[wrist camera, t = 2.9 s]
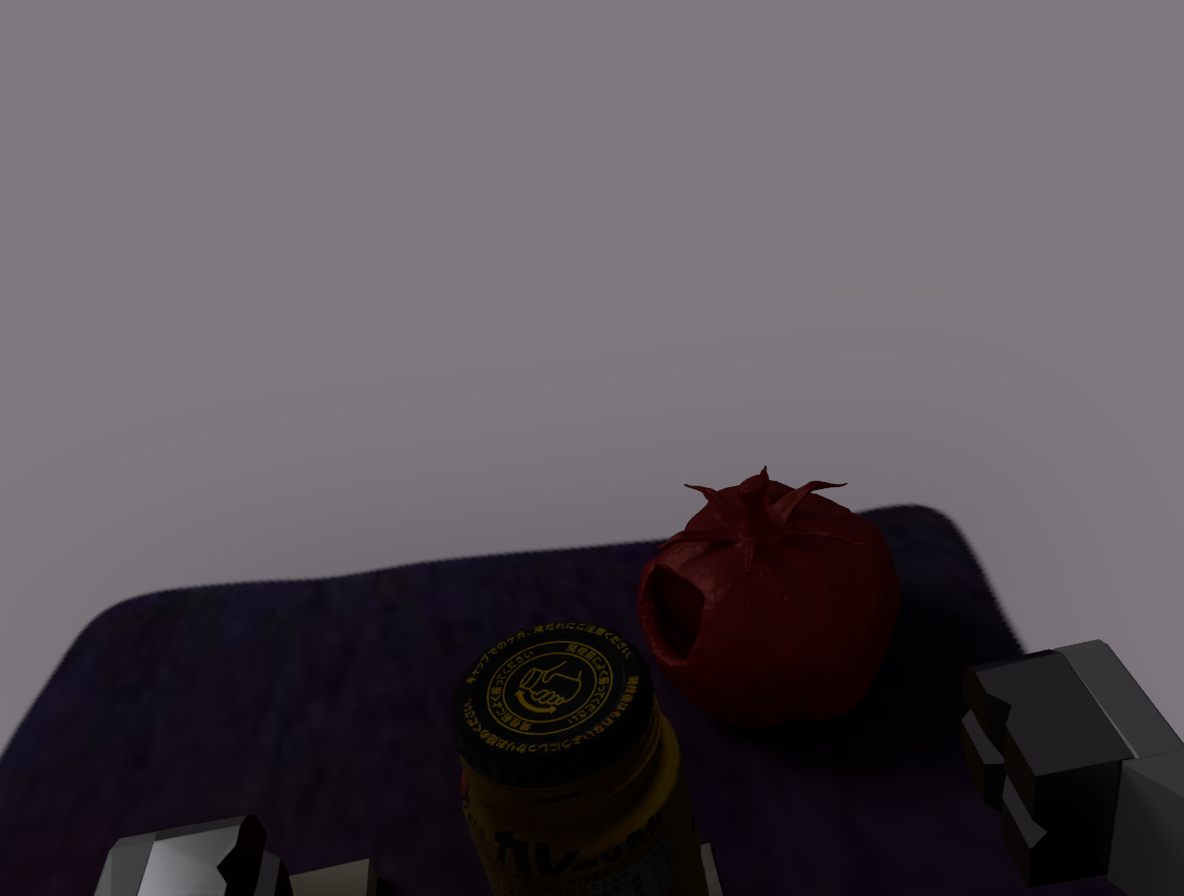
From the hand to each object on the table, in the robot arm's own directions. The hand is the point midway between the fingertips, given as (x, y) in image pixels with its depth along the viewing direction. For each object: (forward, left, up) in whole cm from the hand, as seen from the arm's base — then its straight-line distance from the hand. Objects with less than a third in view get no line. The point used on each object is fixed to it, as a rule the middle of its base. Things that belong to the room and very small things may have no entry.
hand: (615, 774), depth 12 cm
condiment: (+11, +2, -21) cm, 24 cm away
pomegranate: (+23, -6, -21) cm, 32 cm away
